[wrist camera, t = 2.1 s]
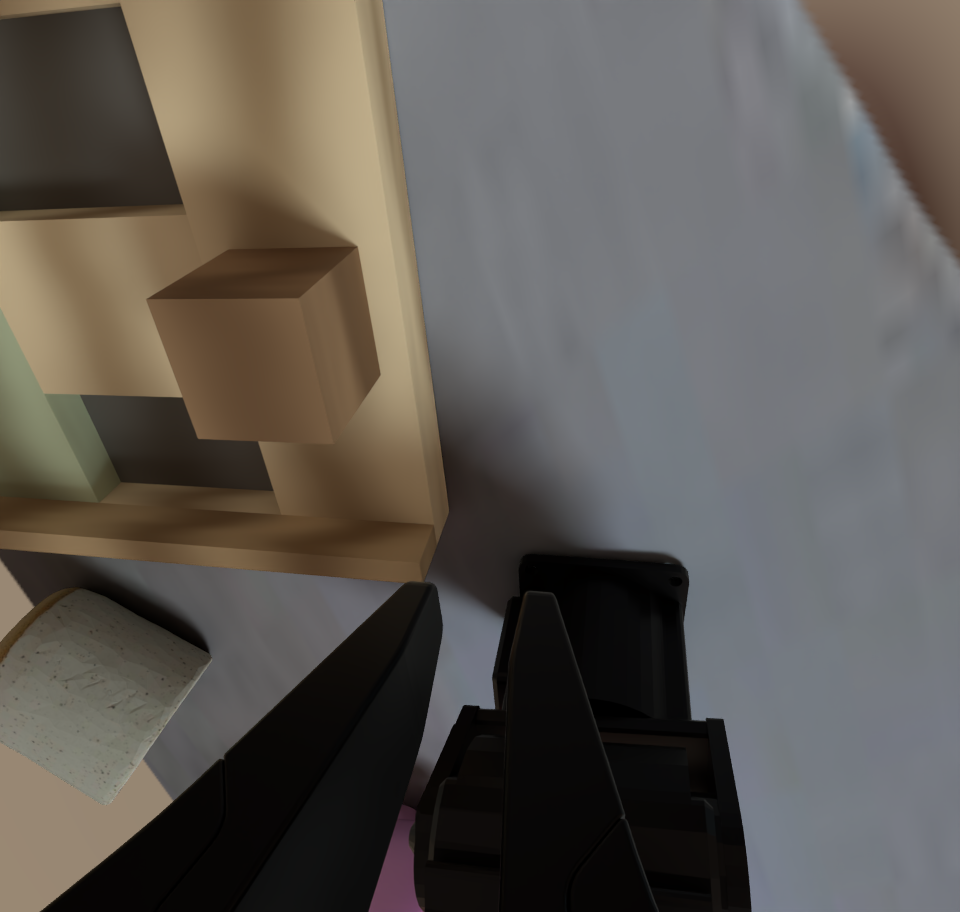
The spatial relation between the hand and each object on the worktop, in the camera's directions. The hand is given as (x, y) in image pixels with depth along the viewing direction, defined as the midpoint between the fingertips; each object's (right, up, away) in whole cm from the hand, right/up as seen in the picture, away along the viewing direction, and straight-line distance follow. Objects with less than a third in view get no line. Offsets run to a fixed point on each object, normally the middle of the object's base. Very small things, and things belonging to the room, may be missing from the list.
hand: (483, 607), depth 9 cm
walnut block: (-5, +6, +10) cm, 13 cm away
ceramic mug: (-18, -8, +26) cm, 33 cm away
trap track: (-12, +8, +13) cm, 19 cm away
